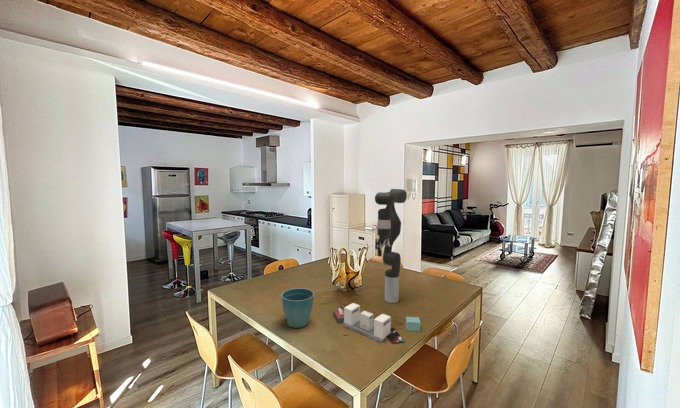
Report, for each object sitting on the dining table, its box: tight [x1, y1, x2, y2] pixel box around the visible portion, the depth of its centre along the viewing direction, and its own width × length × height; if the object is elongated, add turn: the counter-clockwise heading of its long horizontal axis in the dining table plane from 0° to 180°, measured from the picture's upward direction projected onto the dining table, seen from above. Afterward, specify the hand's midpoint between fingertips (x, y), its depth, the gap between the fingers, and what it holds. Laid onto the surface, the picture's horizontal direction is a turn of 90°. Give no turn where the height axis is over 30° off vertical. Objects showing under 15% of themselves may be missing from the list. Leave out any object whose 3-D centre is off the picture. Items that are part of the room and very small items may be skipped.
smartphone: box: [386, 327, 406, 345], centre depth 150 cm, size 7×1×15 cm
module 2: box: [373, 313, 392, 339], centre depth 148 cm, size 8×5×9 cm, turn 140°
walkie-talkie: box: [333, 304, 345, 324], centre depth 172 cm, size 9×4×20 cm
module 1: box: [344, 302, 361, 325], centre depth 161 cm, size 8×5×9 cm, turn 140°
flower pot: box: [281, 287, 315, 329], centre depth 162 cm, size 18×18×17 cm
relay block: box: [405, 316, 422, 332], centre depth 157 cm, size 5×6×7 cm
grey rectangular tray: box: [342, 320, 391, 343], centre depth 155 cm, size 10×25×2 cm, turn 50°
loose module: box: [360, 310, 374, 331], centre depth 155 cm, size 4×6×8 cm
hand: (383, 254), depth 166 cm, fingers open, 8 cm apart
